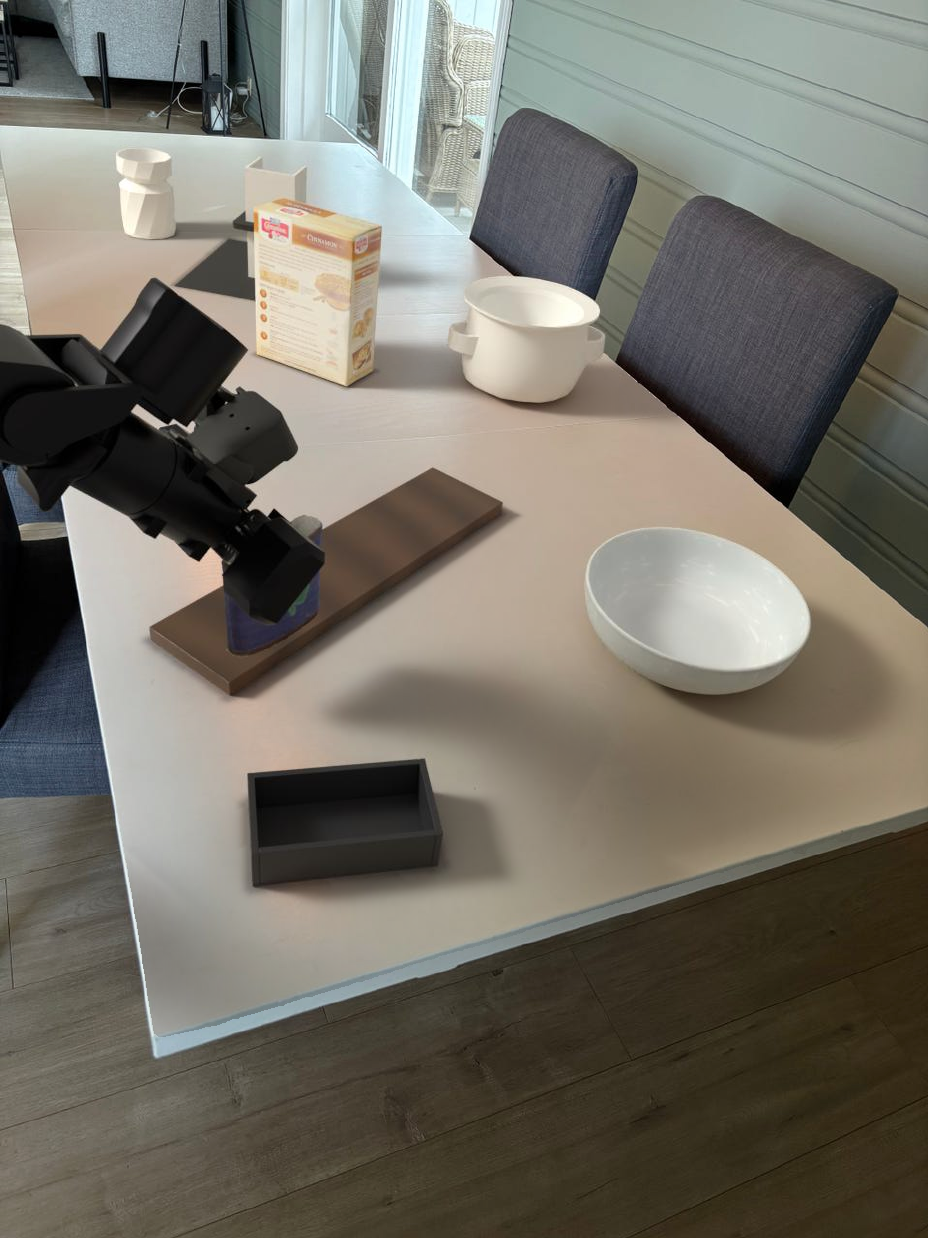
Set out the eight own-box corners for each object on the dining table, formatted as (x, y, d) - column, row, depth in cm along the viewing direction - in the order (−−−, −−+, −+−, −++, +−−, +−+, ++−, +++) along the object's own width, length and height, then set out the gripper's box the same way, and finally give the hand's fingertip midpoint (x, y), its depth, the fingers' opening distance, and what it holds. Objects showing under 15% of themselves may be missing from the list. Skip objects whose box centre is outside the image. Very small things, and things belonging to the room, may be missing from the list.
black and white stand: (368, 263, 158) (374, 161, 148) (332, 314, 140) (336, 201, 129) (228, 238, 159) (224, 135, 149) (174, 285, 140) (165, 171, 130)
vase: (130, 240, 153) (122, 162, 145) (117, 223, 158) (109, 147, 151) (182, 238, 156) (177, 162, 149) (168, 221, 162) (163, 147, 154)
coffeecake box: (374, 370, 126) (384, 224, 114) (346, 388, 121) (353, 237, 109) (285, 339, 130) (285, 195, 118) (254, 355, 125) (251, 205, 113)
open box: (252, 886, 62) (251, 854, 60) (248, 805, 68) (247, 772, 65) (437, 865, 66) (443, 834, 63) (420, 789, 71) (424, 758, 68)
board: (229, 695, 76) (229, 683, 75) (150, 639, 80) (148, 626, 79) (501, 513, 102) (503, 502, 101) (431, 478, 106) (432, 466, 105)
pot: (573, 361, 137) (590, 279, 130) (611, 416, 125) (633, 330, 117) (430, 357, 132) (439, 272, 124) (455, 414, 119) (467, 324, 111)
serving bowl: (534, 598, 91) (546, 542, 87) (703, 567, 99) (722, 514, 95) (645, 748, 77) (667, 689, 73) (831, 697, 85) (861, 642, 81)
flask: (305, 597, 78) (308, 490, 71) (329, 614, 76) (335, 506, 70) (218, 646, 72) (213, 534, 65) (243, 665, 70) (240, 553, 64)
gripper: (302, 436, 52) (430, 539, 65) (150, 316, 62) (287, 426, 75) (184, 588, 53) (334, 660, 66) (51, 445, 63) (205, 532, 76)
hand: (289, 561), depth 71 cm, fingers closed on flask, 3 cm apart
